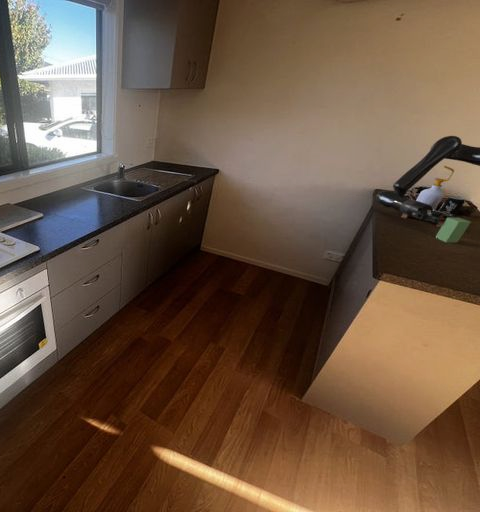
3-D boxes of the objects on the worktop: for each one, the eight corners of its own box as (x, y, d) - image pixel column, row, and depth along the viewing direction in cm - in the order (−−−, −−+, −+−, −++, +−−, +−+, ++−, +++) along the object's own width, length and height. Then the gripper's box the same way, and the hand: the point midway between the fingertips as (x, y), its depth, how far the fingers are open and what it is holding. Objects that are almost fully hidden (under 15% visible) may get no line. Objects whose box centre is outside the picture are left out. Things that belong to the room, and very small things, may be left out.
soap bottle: (412, 206, 172) (437, 164, 160) (434, 210, 166) (461, 167, 154) (410, 209, 167) (435, 166, 155) (432, 214, 161) (460, 169, 149)
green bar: (445, 237, 134) (458, 217, 129) (457, 242, 130) (471, 221, 125) (434, 237, 134) (447, 217, 129) (445, 242, 130) (459, 221, 125)
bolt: (429, 209, 171) (468, 216, 161) (431, 207, 167) (471, 214, 157) (435, 200, 170) (473, 206, 160) (436, 197, 167) (476, 203, 156)
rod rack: (447, 224, 147) (452, 215, 145) (441, 227, 145) (447, 218, 142) (406, 215, 160) (411, 206, 157) (400, 217, 157) (405, 208, 155)
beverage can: (455, 222, 150) (470, 200, 144) (439, 220, 152) (453, 198, 146) (446, 217, 156) (460, 196, 150) (431, 216, 158) (444, 194, 152)
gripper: (404, 201, 144) (436, 213, 130) (434, 201, 143) (469, 213, 129) (396, 215, 147) (427, 228, 133) (425, 216, 147) (459, 228, 133)
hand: (448, 221), depth 131 cm, fingers open, 8 cm apart
